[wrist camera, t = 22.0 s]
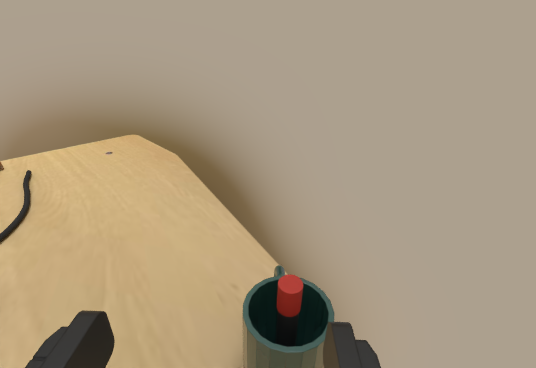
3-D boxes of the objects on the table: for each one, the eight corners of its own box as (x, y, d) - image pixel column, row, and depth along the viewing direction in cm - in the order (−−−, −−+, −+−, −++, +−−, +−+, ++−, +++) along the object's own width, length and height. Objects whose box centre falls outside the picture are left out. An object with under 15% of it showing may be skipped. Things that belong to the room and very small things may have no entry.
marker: (268, 374, 33) (272, 282, 26) (282, 361, 34) (289, 270, 28) (282, 391, 31) (291, 297, 25) (297, 376, 33) (308, 284, 26)
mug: (329, 422, 29) (346, 350, 24) (243, 427, 29) (242, 354, 24) (306, 316, 41) (315, 251, 35) (244, 318, 40) (243, 253, 35)
